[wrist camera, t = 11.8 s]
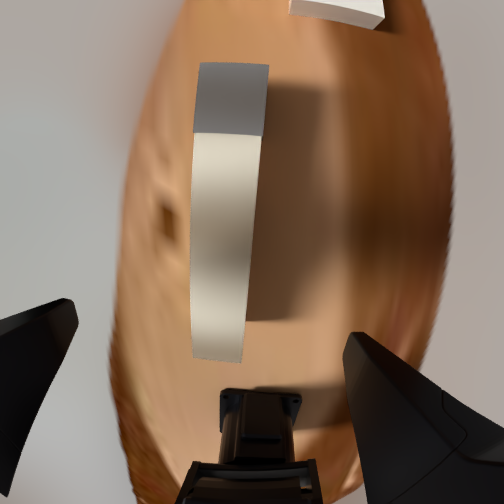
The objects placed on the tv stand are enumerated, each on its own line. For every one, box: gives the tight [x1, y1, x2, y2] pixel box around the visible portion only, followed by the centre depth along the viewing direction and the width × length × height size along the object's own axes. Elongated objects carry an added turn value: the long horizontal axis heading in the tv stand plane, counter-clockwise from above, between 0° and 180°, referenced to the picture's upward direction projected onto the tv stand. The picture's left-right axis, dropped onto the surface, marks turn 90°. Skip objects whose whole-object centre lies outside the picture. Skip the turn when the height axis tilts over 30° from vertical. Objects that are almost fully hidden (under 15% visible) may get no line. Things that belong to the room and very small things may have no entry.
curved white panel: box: [190, 63, 269, 363], centre depth 13 cm, size 14×3×4 cm, turn 175°
